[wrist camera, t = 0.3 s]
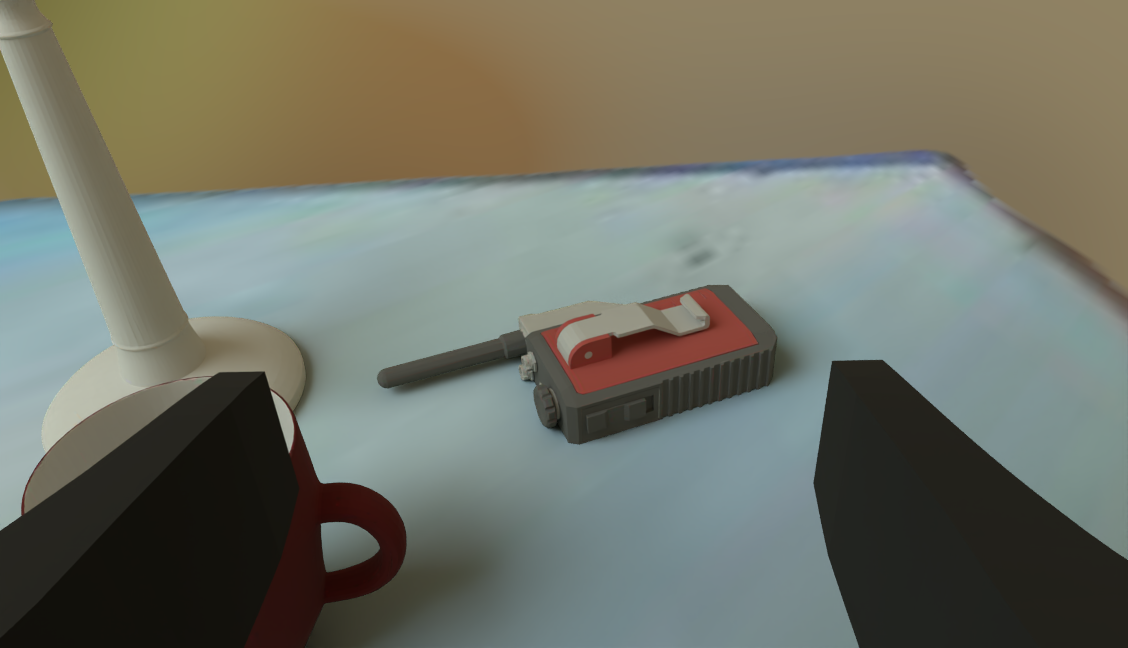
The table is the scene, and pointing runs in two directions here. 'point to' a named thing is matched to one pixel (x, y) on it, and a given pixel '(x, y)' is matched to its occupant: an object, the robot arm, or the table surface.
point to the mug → (301, 565)
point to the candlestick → (121, 252)
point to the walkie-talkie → (624, 359)
